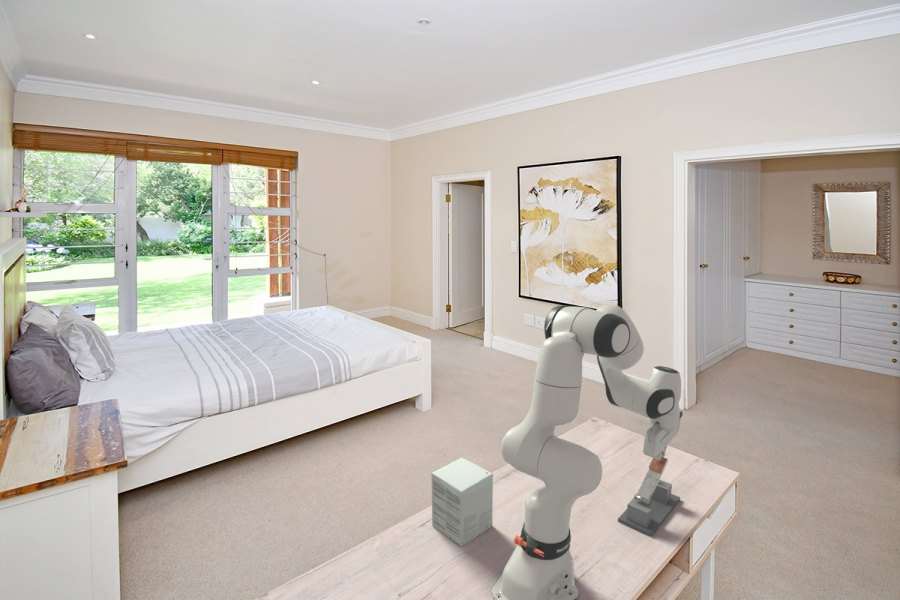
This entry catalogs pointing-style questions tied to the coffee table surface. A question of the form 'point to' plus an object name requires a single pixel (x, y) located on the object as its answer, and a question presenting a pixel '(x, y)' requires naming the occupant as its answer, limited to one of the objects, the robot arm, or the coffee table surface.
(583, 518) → the coffee table surface
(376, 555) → the coffee table surface
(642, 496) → the bar
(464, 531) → the supplement box
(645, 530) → the base
